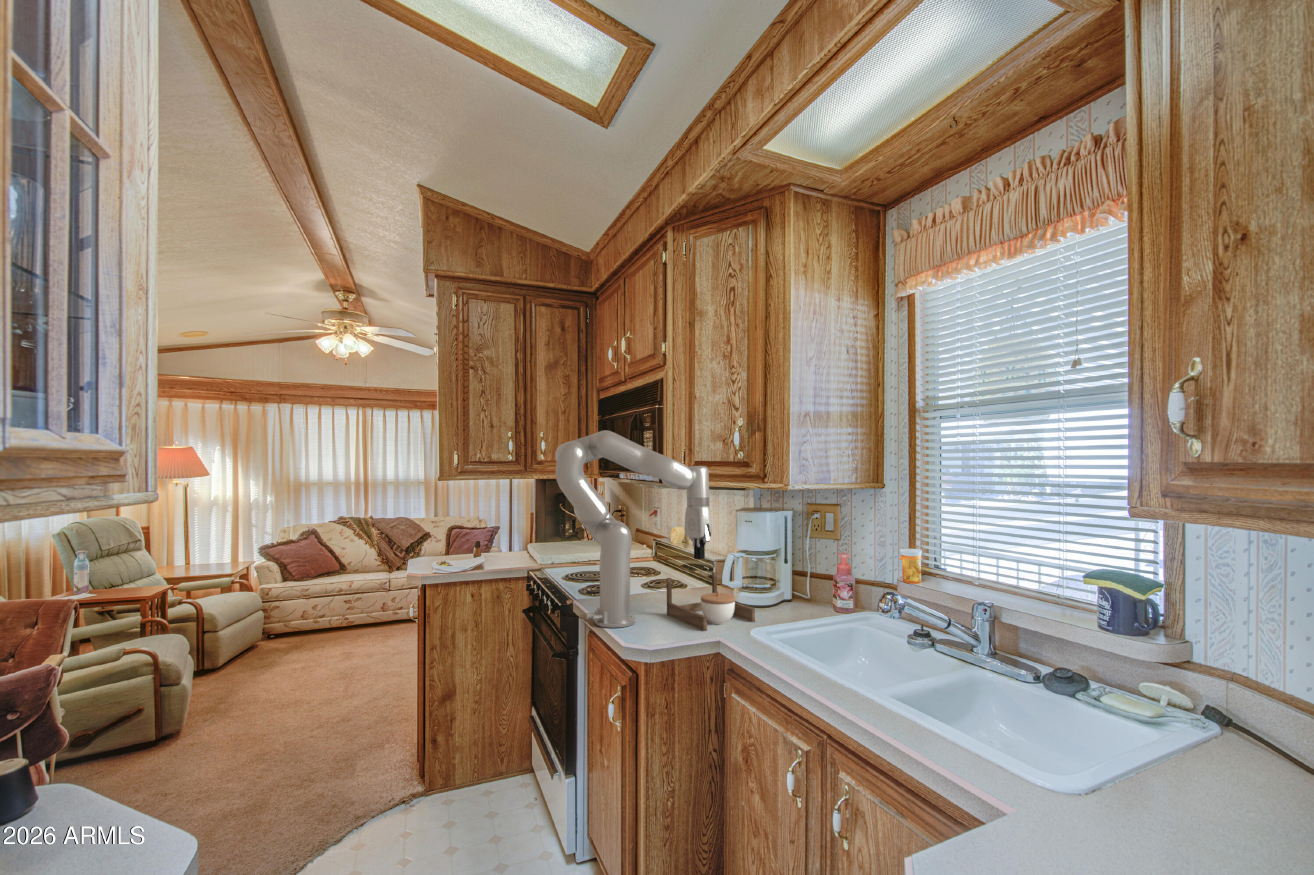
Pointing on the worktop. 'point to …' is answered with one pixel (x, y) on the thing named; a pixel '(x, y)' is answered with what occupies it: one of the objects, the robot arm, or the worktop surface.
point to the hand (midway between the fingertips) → (699, 558)
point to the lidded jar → (718, 607)
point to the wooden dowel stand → (695, 619)
